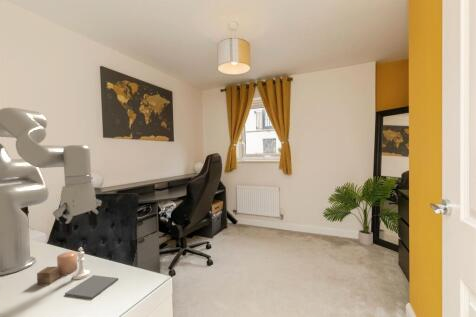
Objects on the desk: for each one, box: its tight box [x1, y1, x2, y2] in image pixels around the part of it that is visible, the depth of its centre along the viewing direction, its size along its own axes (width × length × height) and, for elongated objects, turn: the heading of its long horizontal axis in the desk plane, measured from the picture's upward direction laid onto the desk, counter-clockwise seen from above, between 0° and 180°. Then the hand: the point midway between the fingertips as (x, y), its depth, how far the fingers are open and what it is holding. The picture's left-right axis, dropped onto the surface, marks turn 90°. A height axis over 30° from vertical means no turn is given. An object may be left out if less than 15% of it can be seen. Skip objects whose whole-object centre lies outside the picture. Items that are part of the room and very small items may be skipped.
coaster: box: [64, 274, 119, 300], centre depth 70 cm, size 10×10×1 cm
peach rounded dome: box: [56, 251, 78, 276], centre depth 80 cm, size 6×6×6 cm
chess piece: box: [72, 246, 91, 280], centre depth 77 cm, size 5×5×10 cm
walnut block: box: [36, 266, 60, 286], centre depth 74 cm, size 4×4×4 cm
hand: (81, 229), depth 77 cm, fingers open, 9 cm apart
